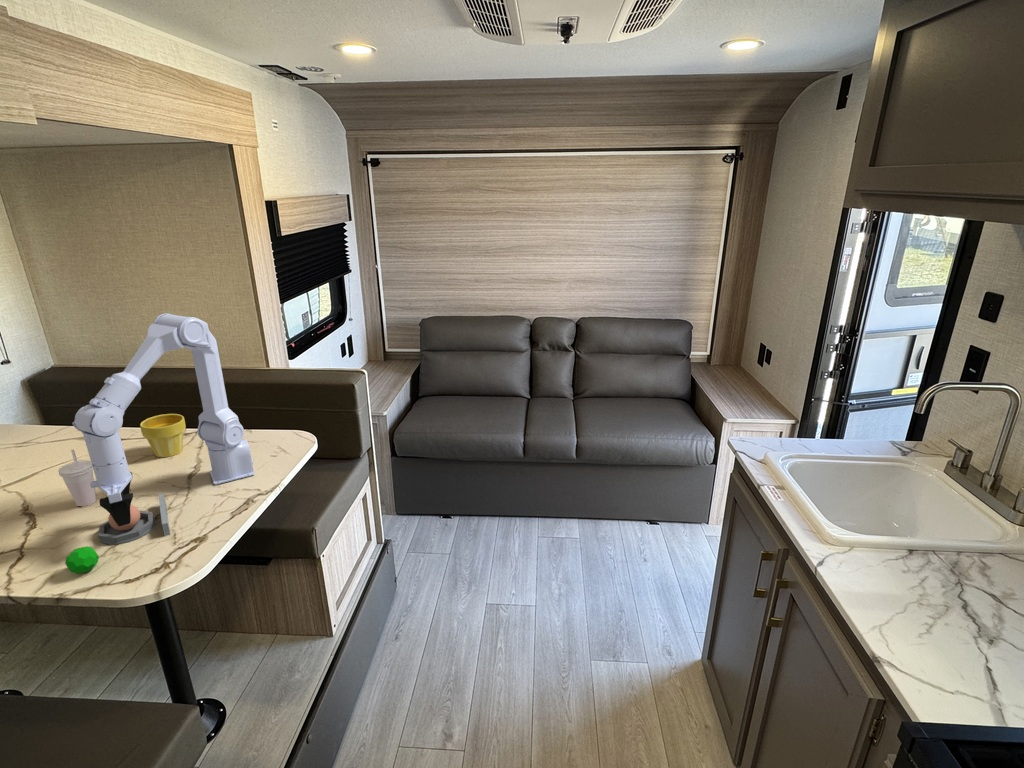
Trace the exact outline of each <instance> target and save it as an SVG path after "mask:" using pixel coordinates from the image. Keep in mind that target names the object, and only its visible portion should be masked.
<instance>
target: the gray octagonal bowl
mask: <svg viewBox="0 0 1024 768" xmlns="http://www.w3.org/2000/svg"><path fill="white" fill-rule="evenodd" d="M139 511H140V520H139V522H138V523H137V524H136V525H135V526H134V527H133V528H131V529H129V530H124V531H120V530H116V529H114V528H113V527H111V525H110V524H109V519H108V520H107V521H105V522H104V523H102V524H101V525H99V527H98V528H99V529H98V540H99V542H100V543H102V544H104V545H108V546H109V545H111V546H112V545H113V546H114V545H121V544H126V543H130V542H132V541H136V540H138V539H140V538H143V537H144V536H146V535H147V534H149V533H150V532H151V531H152V530H153V529H154V528H155V526H156V525H157V520H156V518H155V516H154V514H153V512H151V511H146V510H139Z"/></svg>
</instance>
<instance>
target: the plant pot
mask: <svg viewBox="0 0 1024 768" xmlns="http://www.w3.org/2000/svg"><path fill="white" fill-rule="evenodd" d="M186 427H187V426H186V421H185V417H184V416H183V415H181V414H178V413H167V414H165V413H164V414H159V415H154V416H152V417H147V418H146V419H145V420H143V421H141V422H140V424H139V428H140V431H141V434H142V437H143V438H145V439H146V440H147V442H148V444H149V446H150V448H151V450H152V451H153V453H154V456H155V457H158V458H168V457H170V458H171V457H173V456H176V455H178V454H180V453H181V452H182V451H183V449H184V448H183V447H184V446H183V445H184V432H185V430H186Z"/></svg>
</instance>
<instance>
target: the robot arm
mask: <svg viewBox="0 0 1024 768" xmlns="http://www.w3.org/2000/svg"><path fill="white" fill-rule="evenodd" d="M209 329H210V328H209V324H208V323H207V322H205V321H204V320H202V319H200V318H197V317H194V316H193V317H190V316H184V315H177V314H171V313H168V312H167V313H162V314H160V315H158V316H157V317H156V318H155V319H154V321H153V323H152V324H150V325H149V326H148V327H147V334H146V337H145V338H144V340H143V341H142V343H141V345H140V346H139V347H138V348H137V350H136V352H135V353H134V355H133V357H131V359H130V361H129V362H128V364H127V365H126V366H125V368H124V370H123V371H121V372H117V373H113V374H112V375H111V376H109V377H106V378H105V380H104V381H103V382H104V384H103V386H102V388H101V389H100V390H99V391H98V393H96V395H95V396H94V398H91V399H90V401H89V402H88V403H89V404H87V405H85V406H82V407H80V408H79V409H78V411H77V412H76V413H75V416H74V421H73V422H72V426H73V427H74V429H76V430H77V431H79V432H81V433H82V435H83V436H82V437H83V439H84V442H85V446H86V449H87V453H88V455H89V459H90V460H89V461H91V463H92V466H93V474H94V476H95V480H94V481H92V482H91V483H90V486H91V488H95V489H96V488H98V489H99V490H101V491H102V492H103V493H104V494H105V495H107V496H106V497H103V498H99V500H98V501H99V505H100V507H101V508H103V509H104V510H106V512H108V513H109V515H110V514H111V516H112V517H113V519H114V521H115V522H116V524H117V525H118V526H122V525H126V524H130V521H131V514H130V505H132V504H131V503H132V501H133V498H134V492H130V491H131V489H130V487H131V483H132V479H133V472H131V471H130V467H129V464H128V461H127V457H126V452H125V450H124V446H123V443H122V439H121V435H120V431H119V430H120V429H121V428H122V427H123V422H124V418H123V417H124V415H125V413H126V412H125V411H126V410H127V408H128V407H129V405H131V403H132V402H133V401H134V399H135V397H137V395H138V394H139V392H140V391H141V390H142V385H141V380H142V379H143V377H144V376H145V375H147V373H148V372H149V370H150V369H152V368H153V366H154V365H155V364H156V362H158V361H159V359H160V358H161V357H162V356H163V355H164V353H165V352H170V351H176V350H181V349H183V348H185V349H187V350H189V351H191V355H192V358H193V365H194V370H195V376H196V379H197V384H198V389H199V395H200V400H201V406H202V410H203V411H201V413H200V414H199V415H198V418H197V419H198V426H197V435H198V437H199V439H200V440H202V441H203V442H205V443H204V444H205V445H206V446H207V447H206V448H207V451H208V457H209V461H210V462H209V463H210V467H211V470H210V471H209V473H210V477H211V480H212V484H213V485H215V486H216V485H220V484H224V483H229V482H232V481H236V480H240V479H243V478H248V477H253V476H254V475H255V472H254V463H253V461H254V460H253V458H252V453H251V450H250V445H249V443H248V439H247V438H244V435H245V430H244V427H243V425H242V424H241V423H240V421H239V420H240V419H239V417H238V415H237V414H236V413H235V412H233V410H232V409H230V407H229V403H228V398H227V392H226V387H225V381H224V376H223V369H222V365H221V359H220V354H219V348H218V343H217V339H216V337H215V336H214V335H213V334H212V332H211V331H210V330H209Z"/></svg>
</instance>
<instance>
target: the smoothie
mask: <svg viewBox="0 0 1024 768" xmlns="http://www.w3.org/2000/svg"><path fill="white" fill-rule="evenodd" d="M70 452H71V455H72V458H73V462H69V463H67V464H66V463H65V464H64V465H62V466H60V468H59V469H58V470H57V471H58V475H59V476H60V477H62V479H63V481H64V484H65V485H66V487H67V489H68V491H69V493H70V496H71V497H72V499H73V501H74V503H75V505H76V507H78V506H85V507H88V506H91V505H93V504H94V503H96V502H97V497H96V496H97V495H96V488H91V486H90V483H91V482H92V481H95V479H94V470H93V466H92V463H91V460H87V459H83V460H78V459H77V454H76V451H75V449H71V450H70ZM95 501H96V502H95ZM90 504H91V505H90ZM87 505H88V506H87Z"/></svg>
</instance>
